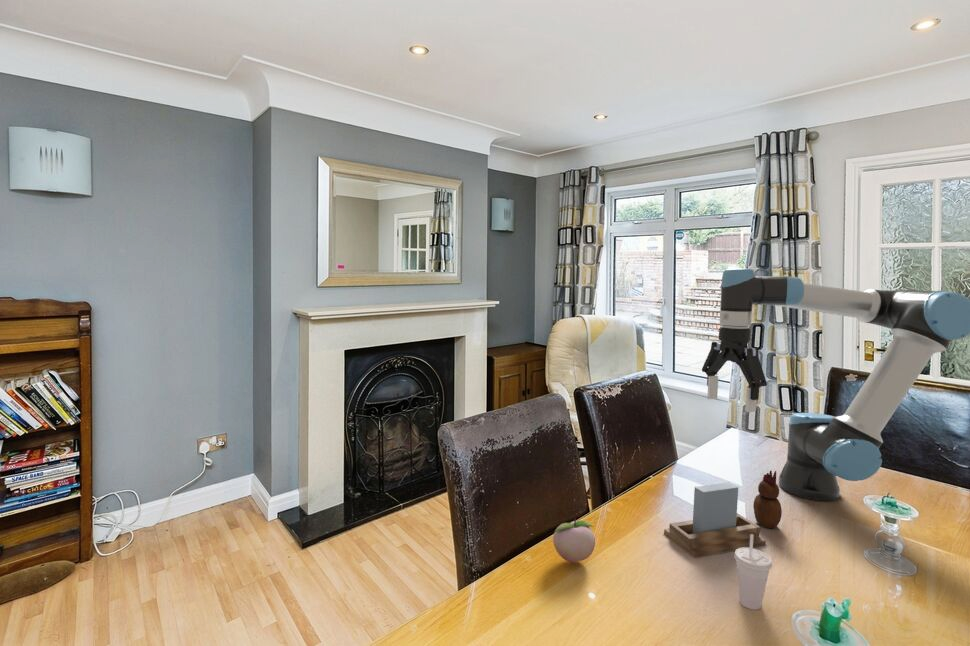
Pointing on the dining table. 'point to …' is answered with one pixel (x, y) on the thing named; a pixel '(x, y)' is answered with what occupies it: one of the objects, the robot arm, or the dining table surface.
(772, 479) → the wooden figurine
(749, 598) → the smoothie
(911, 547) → the dining table surface
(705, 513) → the gray rectangular block
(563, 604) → the dining table surface
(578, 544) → the decorative fruit
